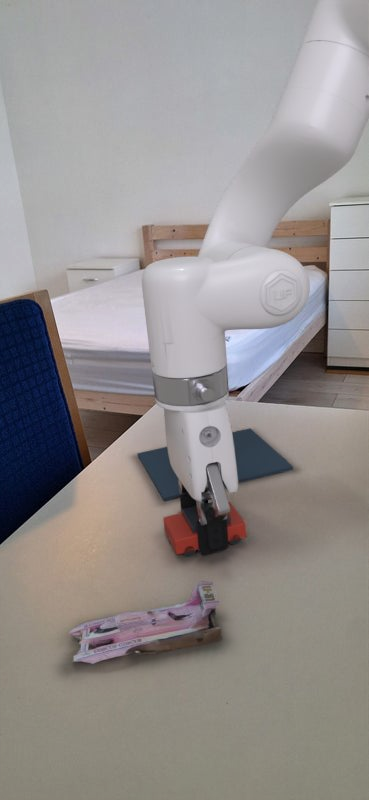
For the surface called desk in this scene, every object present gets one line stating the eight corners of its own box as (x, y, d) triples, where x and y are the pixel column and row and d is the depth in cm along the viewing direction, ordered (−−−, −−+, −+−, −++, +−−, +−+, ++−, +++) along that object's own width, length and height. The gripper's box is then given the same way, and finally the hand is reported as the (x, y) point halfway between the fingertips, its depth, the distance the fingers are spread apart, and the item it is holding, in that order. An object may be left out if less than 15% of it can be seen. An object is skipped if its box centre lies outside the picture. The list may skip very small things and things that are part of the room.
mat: (250, 431, 92) (250, 428, 92) (293, 469, 80) (292, 466, 79) (137, 456, 88) (137, 453, 87) (163, 501, 75) (163, 497, 75)
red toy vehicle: (247, 541, 65) (230, 518, 70) (245, 516, 64) (229, 495, 69) (177, 559, 64) (165, 535, 68) (174, 534, 62) (162, 510, 67)
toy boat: (70, 677, 50) (62, 640, 48) (73, 630, 55) (66, 594, 53) (225, 651, 51) (222, 613, 49) (214, 607, 56) (210, 571, 55)
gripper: (260, 404, 53) (268, 571, 60) (198, 356, 69) (210, 493, 75) (180, 421, 51) (198, 592, 58) (135, 367, 67) (152, 507, 73)
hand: (204, 535), depth 67 cm, fingers closed on red toy vehicle, 5 cm apart
